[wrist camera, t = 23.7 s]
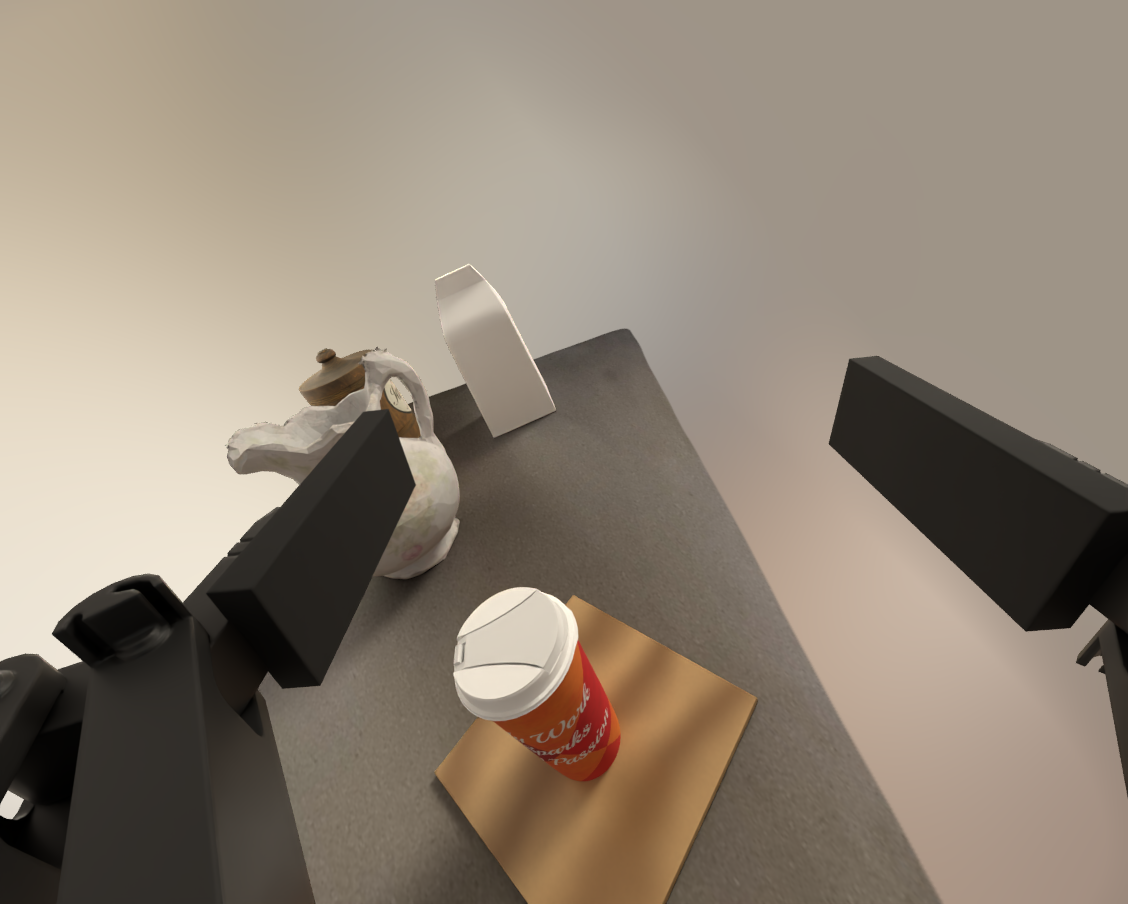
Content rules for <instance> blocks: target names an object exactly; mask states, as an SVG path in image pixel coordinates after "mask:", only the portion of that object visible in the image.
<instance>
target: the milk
mask: <svg viewBox="0 0 1128 904" xmlns="http://www.w3.org/2000/svg"><path fill="white" fill-rule="evenodd" d="M435 287H436V298H437V305H438V311H439V316H440V322H441V327H442V332H443V336H444V339H445V341H446V344H447V346H448V348H449V350H450V352H451V354H452V356H453V358H454V360H455V362H456V364H457V366H458V368H459V370H460V372H461V374H462V376H463V378H464V380H465V382H466V384H467V386H468V388H469V390H470V392H471V394H472V396H473V398H474V400H475V402H476V404H477V406H478V408H479V410H480V412H481V414H482V416H483V418H484V420H485V422H486V424H487V426H488V428H489V430H490V432H491V434H492V436H493V438H495V437H497V436H500V435H502V434H504V433H506V432H509V431H511V430H513V429H516V428H518V427H520V426H522V425H525V424H527V423H529V422H531V421H534V420H536V419H538V418H540V417H543V416H545V415H547V414H550V413H552V412H554V411H556V408H555V406H554V403H553V401H552V398H551V396H550V393H549V391H548V388H547V386H546V384H545V382H544V380H543V378H542V376H541V374H540V372H539V370H538V368H537V366H536V364H535V362H534V360H533V358H532V356H531V354H530V353H529V350H528V348H527V347H526V345H525V343H524V341H523V339H522V337H521V335H520V333H519V331H518V329H517V327H516V325H515V323H514V321H513V319H512V317H511V315H510V313H509V311H508V309H507V307H506V305H505V304H504V301H503V300H502V298H501V297H500V295H499V294H498V293H497V291H496V290H495V289H494V288H493V287H492V286H491V285H490V284H489V283H488V282H487V280H486V279H484V278H483V276H482V275H481V274H480V273H479V272H478V271H476V269H475V268H473V266H471V265H470V264H468V265H466V266H463V267H461V268H459V269H457V270H455V271H453V272H450V273H448V274H446V275H444V276H442V277H439V278H437V279H436V280H435Z"/></svg>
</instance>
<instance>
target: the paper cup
mask: <svg viewBox="0 0 1128 904" xmlns="http://www.w3.org/2000/svg"><path fill="white" fill-rule="evenodd" d="M457 641H458V645H457V646H456V647H455V656H454V671H455V672H453V675H454V678H455V686H456V690H457V693H458V696H459V698H460V700H461V702H462V703H463V705H464V706H465V707H466V708H467V709H468V710H469V711H470V712H471V713H473V714H474V715H475V716H477V717H480V718H482V719H485V720H490V721H493V722H495V723H496V724H497V725H498V726H500V727H501V728H502V729H504V730H505V731H506V732H507V733H509V734H510V735H511V736H512V737H514V738H515V739H516V740H518V741H519V742H520V743H521V744H523V745H524V746H525V747H527V748H528V749H529V750H530V751H532V752H533V753H534V754H536V755H537V756H538V757H540V758H541V759H542V760H543V761H545V762H546V763H547V764H549V765H550V766H551V767H553V768H554V769H555V770H557V771H558V772H560V773H561V774H563V775H564V776H566V777H568V778H570V779H572V780H576V781H590V780H593V779H595V778H597V777H599V776H601V775H602V774H603V773H605V772H606V771H607V770H608V769H609V767H610V766H611V765H612V763H613V762H614V760H615V758H616V756H617V753H618V750H619V746H620V739H621V733H620V726H619V722H618V719H617V716H616V714H615V711H614V709H613V707H612V705H611V703H610V701H609V699H608V697H607V695H606V693H605V691H604V689H603V687H602V685H601V683H600V681H599V679H598V677H597V675H596V673H595V671H594V669H593V667H592V665H591V664H590V662H589V660H588V658H587V656H586V654H585V652H584V650H583V648H582V646H581V644H580V642H579V640H578V627H577V623H576V619H575V617H574V615H573V613H572V611H571V610H570V609H569V608H568V607H566V606H565V605H564V604H563V603H562V602H561V601H560V600H559V599H557V598H555V597H554V596H552V595H549V594H546V593H542V592H541V591H540V590H537V589H534V588H529V587H518V588H512V589H508V590H505V591H502V592H500V593H498V594H496V595H494V596H492V597H490V598H489V599H488V600H486V601H485V602H483V603H482V604H481V605H480V606H479V607H478V608H477V609H476V610H475V611H474V612H473V613H472V614H471V615H470V616H469V618H468V619H467V620H466V622H465V623H464V625H463V626H462V628H461V630H460V632H459V634H458V636H457Z"/></svg>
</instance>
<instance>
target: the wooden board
mask: <svg viewBox="0 0 1128 904" xmlns="http://www.w3.org/2000/svg"><path fill="white" fill-rule="evenodd" d="M565 606H566V607H568V608H569V609H570V610H571V611H572V613H573V615H574V617H575V619H576V623H577V627H578V640H579V642H580V644H581V646H582V648H583V650H584V652H585V654H586V656H587V658H588V660H589V662H590V664H591V665H592V667H593V669H594V671H595V673H596V675H597V677H598V679H599V681H600V683H601V685H602V687H603V689H604V691H605V693H606V695H607V697H608V699H609V701H610V703H611V705H612V707H613V709H614V711H615V714H616V716H617V719H618V722H619V726H620V733H621V739H620V746H619V750H618V753H617V756H616V758H615V760H614V762H613V763H612V765H611V766H610V767H609V769H608V770H607V771H606V772H605V773H603V774H602V775H601V776H599V777H597V778H595V779H593V780H590V781H576V780H572V779H570V778H568V777H566V776H564V775H563V774H561V773H560V772H558V771H557V770H555V769H554V768H553V767H551V766H550V765H549V764H547V763H546V762H545V761H543V760H542V759H541V758H540V757H538V756H537V755H536V754H534V753H533V752H532V751H530V750H529V749H528V748H527V747H525V746H524V745H523V744H521V743H520V742H519V741H518V740H516V739H515V738H514V737H512V736H511V735H510V734H509V733H507V732H506V731H505V730H504V729H502V728H501V727H500V726H498V725H497V724H496V723H495V722H493V721H490V720H485V719H482V718H480V717H477V719H476V720H475V721H474V722H473V724H472V725H471V726H470V728H469V729H468V730H467V731H466V733H465V734H464V735H463V737H462V738H461V739H460V740H459V742H458V743H457V744H456V745H455V747H454V748H453V749H452V751H451V752H450V753H449V754H448V756H447V757H446V758H445V760H444V761H443V762H442V763H441V765H440V766H439V767H438V768H437V770H436V771H435V775H436V776H437V777H438V779H439V780H440V781H441V783H442V784H443V786H444V787H445V788H446V790H447V791H448V793H449V794H450V795H451V797H452V798H453V800H454V801H455V802H456V804H457V805H458V807H459V808H460V809H461V811H462V812H463V814H464V815H465V816H466V818H467V819H468V821H469V822H470V823H471V825H472V826H473V828H474V829H475V830H476V832H477V833H478V835H479V836H480V837H481V839H482V840H483V842H484V843H485V844H486V846H487V847H488V849H489V850H490V851H491V853H492V854H493V856H494V857H495V858H496V860H497V861H498V863H499V864H500V865H501V867H502V868H503V870H504V871H505V872H506V874H507V875H508V877H509V878H510V879H511V881H512V882H513V884H514V885H515V886H516V888H517V889H518V891H519V892H520V893H521V895H522V896H523V898H524V899H525V900H526V902H527V903H528V904H666V902H667V900H668V898H669V896H670V893H671V891H672V889H673V887H674V885H675V882H676V880H677V878H678V876H679V874H680V871H681V869H682V867H683V865H684V863H685V860H686V858H687V856H688V854H689V852H690V849H691V847H692V845H693V843H694V841H695V838H696V836H697V834H698V832H699V830H700V827H701V825H702V823H703V821H704V819H705V816H706V814H707V812H708V810H709V808H710V805H711V803H712V801H713V799H714V797H715V794H716V792H717V790H718V788H719V786H720V784H721V781H722V779H723V777H724V775H725V773H726V770H727V768H728V766H729V764H730V762H731V759H732V757H733V755H734V753H735V751H736V748H737V746H738V744H739V742H740V740H741V737H742V735H743V733H744V731H745V729H746V726H747V724H748V722H749V720H750V718H751V715H752V713H753V711H754V709H755V707H756V704H757V702H758V700H757V698H756V697H755V696H753V695H751V694H749V693H747V692H746V691H744V690H742V689H740V688H738V687H737V686H735V685H733V684H731V683H730V682H728V681H726V680H724V679H722V678H721V677H719V676H717V675H715V674H713V673H712V672H710V671H708V670H706V669H705V668H703V667H701V666H699V665H697V664H696V663H694V662H692V661H690V660H688V659H687V658H685V657H683V656H681V655H679V654H678V653H676V652H674V651H672V650H671V649H669V648H667V647H665V646H663V645H662V644H660V643H658V642H656V641H654V640H653V639H651V638H649V637H647V636H646V635H644V634H642V633H640V632H638V631H637V630H635V629H633V628H631V627H629V626H628V625H626V624H624V623H622V622H621V621H619V620H617V619H615V618H613V617H612V616H610V615H608V614H606V613H604V612H603V611H601V610H599V609H597V608H595V607H594V606H592V605H590V604H588V603H587V602H585V601H583V600H581V599H579V598H578V597H576V596H574V595H573V596H572V597H571V599H570V600H569V601H568V602H567V604H566V605H565Z"/></svg>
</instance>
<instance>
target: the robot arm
mask: <svg viewBox="0 0 1128 904" xmlns="http://www.w3.org/2000/svg"><path fill="white" fill-rule="evenodd" d="M829 445H830V446H831V447H832V448H833V449H835V450H836V451H837V452H838V453H839V454H840V455H841V456H842V457H843V458H844V459H845V460H846V461H847V462H848V463H849V464H850V465H851V466H852V467H853V468H855V469H856V470H857V471H858V472H859V473H860V474H861V475H862V476H863V477H864V478H865V479H866V480H867V481H868V482H869V483H870V484H871V485H872V486H874V488H875V489H877V490H878V491H879V492H880V493H881V494H882V495H883V496H884V497H885V498H886V499H887V500H888V501H889V502H890V503H891V504H892V505H893V506H895V507H896V508H897V509H898V510H899V511H900V512H901V513H902V514H903V515H904V516H905V517H906V518H907V519H908V520H909V521H910V522H911V523H912V524H914V526H915V527H917V528H918V529H919V530H920V531H921V532H922V533H923V534H924V535H925V536H926V537H927V538H928V539H929V540H930V541H931V542H932V543H933V544H934V545H935V546H936V547H937V548H939V549H940V550H941V551H942V552H943V553H944V554H945V555H946V556H947V557H948V558H949V559H950V560H951V561H952V562H953V563H954V564H956V565H957V567H958V568H960V569H961V570H962V571H963V572H964V573H965V574H966V575H967V576H968V577H969V578H970V579H971V580H972V581H973V582H974V583H975V584H976V585H977V586H979V588H981V589H982V590H983V591H984V592H985V593H986V594H987V595H988V596H989V597H990V598H991V599H992V600H993V601H994V602H995V603H996V604H997V605H999V607H1001V608H1002V609H1003V610H1004V611H1005V612H1006V613H1007V614H1008V615H1009V616H1010V617H1011V618H1012V619H1013V620H1014V621H1015V622H1016V623H1017V624H1018V625H1019V626H1020V627H1022V628H1023V629H1024V630H1025V631H1038V630H1051V629H1064V628H1071V627H1072V625H1073V624H1074V623H1075V621H1076V620H1077V619H1078V618H1079V617H1080V615H1081V614H1082V613H1083V612H1084V610H1085V609H1086V608H1087V606H1088V605H1089V604H1090V605H1091V606H1092V607H1094V608H1095V609H1096V610H1098V611H1099V612H1100V613H1102V614H1103V615H1104V616H1105V617H1107V618H1108V620H1107V621H1106V623H1105V624H1104V625H1103V626H1102V627H1101V628H1100V630H1099V631H1098V632H1097V633H1096V634H1095V636H1094V637H1093V638H1092V639H1091V640H1090V641H1089V643H1088V644H1087V645H1086V646H1085V647H1084V649H1083V650H1082V651H1081V652H1080V653H1079V655H1078V657H1077V661H1076V663H1078V664H1080V665H1083V666H1086V665H1087V664H1088V663H1089V661H1090V660H1091V659H1092V658H1093V657H1096V656H1102V658H1103V664H1104V665H1103V666H1102V667H1101V668H1100V669H1099V672H1101V673H1104V674H1105V675H1106V680H1107V686H1108V691H1109V697H1110V702H1111V708H1112V713H1113V719H1114V724H1115V730H1116V735H1117V741H1118V746H1119V752H1120V757H1121V763H1122V768H1123V774H1124V779H1125V785H1126V790H1127V796H1128V484H1126V483H1124V482H1122V481H1120V480H1118V479H1116V478H1114V477H1112V476H1110V475H1109V474H1107V473H1105V474H1101V473H1100V470H1099V469H1097V468H1095V467H1093V466H1091V465H1089V464H1088V463H1086V462H1084V461H1078V460H1077V459H1078V458H1076V457H1074V456H1072V455H1070V454H1068V453H1067V452H1065V451H1063V450H1061V449H1059V448H1057V447H1055V446H1053V445H1051V444H1049V443H1045V442H1043V441H1040V440H1037V439H1034V438H1032V437H1030V436H1028V435H1026V434H1024V433H1023V432H1021V431H1019V430H1017V429H1015V428H1013V427H1011V426H1009V425H1007V424H1005V423H1004V422H1002V421H1000V420H997V419H996V418H994V417H992V416H990V415H989V414H987V413H985V412H983V411H981V410H979V409H977V408H975V407H973V406H972V405H970V404H968V403H966V402H964V401H962V400H960V399H958V398H956V397H954V396H953V395H951V394H949V393H947V392H945V391H943V390H941V389H939V388H938V387H936V386H934V385H932V384H930V383H928V382H926V381H924V380H922V379H921V378H918V377H917V376H915V375H913V374H911V373H909V372H907V371H905V370H904V369H902V368H900V367H898V366H896V365H894V364H892V363H890V362H888V361H887V360H885V359H883V358H881V357H879V356H872V357H864V358H853V359H849V363H848V367H847V371H846V375H845V379H844V383H843V387H842V392H841V395H840V400H839V404H838V408H837V412H836V416H835V420H834V424H833V428H832V433H831V436H830V441H829ZM415 486H416V483H415V481H414V478H413V475H412V472H411V470H410V467H409V464H408V461H407V458H406V456H405V453H404V450H403V447H402V445H401V442H400V439H399V436H398V433H397V431H396V428H395V425H394V422H393V420H392V417H391V414H390V411H389V409H383V410H374V411H364V412H362V414H361V415H360V416H359V417H358V418H357V419H356V421H355V422H354V423H353V424H352V425H351V426H350V427H349V429H348V430H347V431H346V432H345V433H344V434H343V436H342V437H341V438H340V439H339V440H338V441H337V442H336V444H335V445H334V446H333V447H332V448H331V449H330V451H329V452H328V453H327V454H326V455H325V456H324V457H323V459H322V460H321V461H320V462H319V463H318V464H317V466H316V467H315V468H314V469H313V470H312V471H311V472H310V474H309V475H308V476H307V477H306V478H305V479H304V480H303V482H302V483H301V484H300V485H299V486H298V487H297V489H296V490H295V491H294V492H293V493H292V495H290V497H289V498H288V499H287V500H286V502H284V504H283V505H282V506H281V507H276V508H275V509H273V510H272V511H271V512H270V513H268V514H266V515H265V516H264V517H262V518H261V519H260V520H258V521H257V522H255V523H254V524H253V526H252V527H251V528H250V529H249V530H248V531H247V532H246V533H245V534H244V536H243V537H242V538H241V539H240V543H237V544H235V545H234V547H233V548H232V549H231V550H230V551H229V552H228V556H227V557H224V558H223V559H222V560H221V561H220V562H219V563H218V565H216V567H215V568H214V569H213V570H212V571H211V572H210V573H209V574H208V575H207V576H206V578H205V579H204V580H203V581H202V582H201V583H200V584H199V585H198V586H197V588H196V589H195V590H194V591H193V592H192V593H191V594H190V595H189V596H188V598H187V599H186V600H185V601H184V602H183V603H182V601H181V600H180V599H179V598H178V597H177V596H176V594H175V593H174V592H173V591H172V590H171V589H170V588H169V586H168V585H167V584H166V583H165V582H164V581H163V579H162V578H161V577H160V576H159V575H153V574H143V575H138V576H132V577H130V578H126V579H124V580H121V581H118V582H115V583H113V584H111V585H109V586H107V587H105V588H103V589H101V590H99V591H98V592H96V593H94V594H92V595H91V596H89V597H88V598H86V599H85V600H83V601H82V602H81V603H79V604H78V605H76V606H75V607H74V608H72V609H71V610H70V611H69V612H68V613H67V614H66V615H65V616H64V617H63V618H62V619H61V620H60V621H59V622H58V624H57V626H56V627H55V629H54V631H53V633H52V635H53V636H54V637H56V638H57V639H58V640H59V641H60V642H61V643H63V644H64V645H65V646H66V647H67V648H68V649H70V650H71V651H72V652H73V653H74V654H76V655H77V656H78V657H79V658H80V659H81V660H82V662H79V663H76V664H73V665H70V666H67V667H64V668H61V669H58V670H57V669H55V668H54V667H53V666H52V665H50V664H49V663H48V662H46V661H45V660H44V659H43V658H42V657H40V656H39V655H37V654H23V655H19V656H15V657H11V658H8V659H5V660H3V661H1V662H0V803H1V801H2V800H3V798H4V796H5V794H6V792H7V791H8V790H9V791H10V792H12V793H14V794H16V795H17V796H19V797H21V798H23V799H24V801H23V803H22V805H21V807H20V809H19V811H18V813H17V814H16V815H15V816H14V818H13V819H6V818H4V817H2V816H0V904H315V900H314V896H313V892H312V888H311V884H310V880H309V876H308V872H307V868H306V863H305V859H304V855H303V851H302V847H301V843H300V839H299V835H298V831H297V827H296V823H295V819H294V815H293V811H292V807H291V803H290V799H289V795H288V790H287V786H286V782H285V778H284V774H283V770H282V766H281V762H280V758H279V754H278V750H277V746H276V742H275V738H274V734H273V730H272V726H271V721H270V717H269V713H268V709H267V705H266V701H265V699H264V697H263V696H262V695H261V693H260V692H259V691H258V690H257V689H258V687H259V685H260V684H261V682H262V680H263V679H264V677H265V675H266V674H267V672H268V671H269V673H270V674H271V675H272V676H273V678H274V679H275V680H276V681H277V683H278V684H279V685H280V686H281V687H282V689H284V688H297V687H310V686H320V685H321V683H322V681H323V679H324V677H325V675H326V673H327V670H328V668H329V666H330V664H331V662H332V660H333V658H334V656H335V654H336V652H337V650H338V647H339V645H340V643H341V641H342V639H343V637H344V635H345V633H346V631H347V629H348V626H349V624H350V622H351V620H352V618H353V616H354V614H355V612H356V610H357V608H358V606H359V603H360V601H361V599H362V597H363V595H364V593H365V591H366V589H367V587H368V585H369V582H370V580H371V578H372V576H373V574H374V572H375V570H376V568H377V566H378V564H379V561H380V559H381V557H382V555H383V553H384V551H385V549H386V547H387V545H388V543H389V541H390V538H391V536H392V534H393V532H394V530H395V528H396V526H397V524H398V522H399V520H400V517H401V515H402V513H403V511H404V509H405V507H406V505H407V503H408V501H409V499H410V497H411V494H412V492H413V490H414V488H415Z"/></svg>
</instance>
